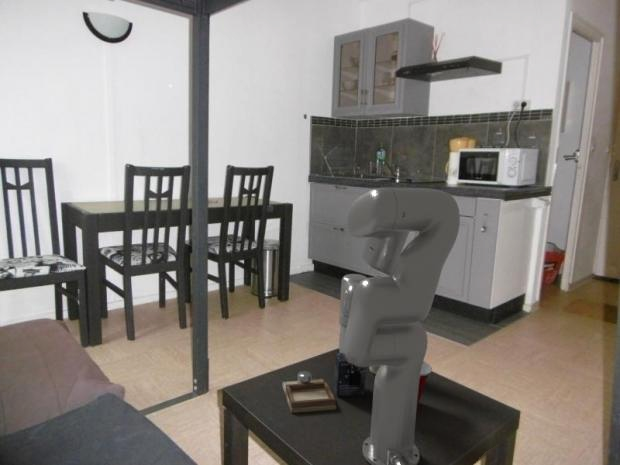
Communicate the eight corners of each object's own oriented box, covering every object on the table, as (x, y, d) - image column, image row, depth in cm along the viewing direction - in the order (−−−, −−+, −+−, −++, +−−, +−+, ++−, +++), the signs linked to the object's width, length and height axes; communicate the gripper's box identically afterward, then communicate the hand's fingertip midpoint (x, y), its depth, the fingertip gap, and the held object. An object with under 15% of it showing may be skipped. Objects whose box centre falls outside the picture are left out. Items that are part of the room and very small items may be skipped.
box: (336, 397, 124) (339, 361, 123) (333, 387, 130) (335, 352, 128) (364, 396, 125) (367, 360, 124) (359, 386, 131) (361, 352, 129)
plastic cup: (429, 418, 116) (433, 375, 114) (387, 412, 118) (390, 369, 116) (427, 397, 126) (431, 357, 124) (388, 392, 128) (391, 352, 126)
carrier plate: (336, 409, 118) (336, 394, 118) (291, 412, 116) (291, 398, 115) (322, 382, 132) (323, 369, 132) (282, 385, 130) (282, 372, 129)
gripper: (376, 331, 117) (372, 391, 120) (355, 307, 133) (352, 361, 137) (349, 332, 115) (345, 393, 118) (331, 308, 132) (328, 363, 135)
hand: (348, 376), depth 127 cm, fingers open, 9 cm apart
